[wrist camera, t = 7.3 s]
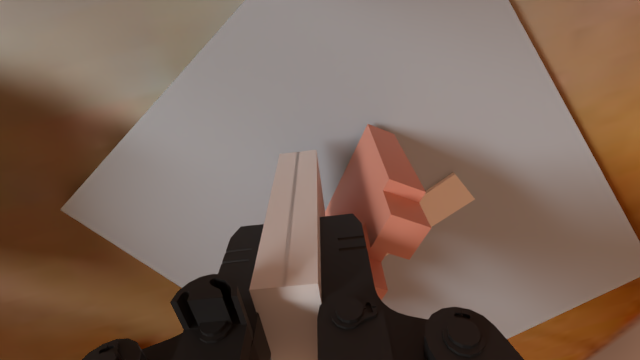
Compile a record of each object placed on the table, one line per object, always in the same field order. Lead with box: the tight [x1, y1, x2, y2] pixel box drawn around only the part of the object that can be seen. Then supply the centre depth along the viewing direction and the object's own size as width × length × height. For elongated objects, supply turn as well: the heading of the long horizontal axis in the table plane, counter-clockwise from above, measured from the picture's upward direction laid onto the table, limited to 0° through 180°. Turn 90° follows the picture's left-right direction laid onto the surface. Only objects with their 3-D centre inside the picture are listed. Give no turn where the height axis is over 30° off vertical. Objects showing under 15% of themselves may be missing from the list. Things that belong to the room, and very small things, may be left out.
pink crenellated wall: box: [325, 124, 431, 300], centre depth 13 cm, size 1×10×6 cm, turn 158°
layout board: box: [60, 0, 640, 339], centre depth 17 cm, size 20×24×1 cm
